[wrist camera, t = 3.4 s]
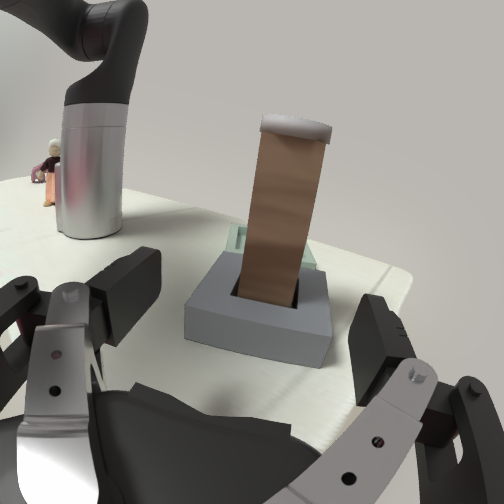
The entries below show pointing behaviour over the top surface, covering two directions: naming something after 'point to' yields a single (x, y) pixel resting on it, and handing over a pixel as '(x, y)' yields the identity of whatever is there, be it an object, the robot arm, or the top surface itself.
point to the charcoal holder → (260, 317)
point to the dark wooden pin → (281, 207)
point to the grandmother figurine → (51, 170)
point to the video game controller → (37, 173)
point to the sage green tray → (238, 242)
